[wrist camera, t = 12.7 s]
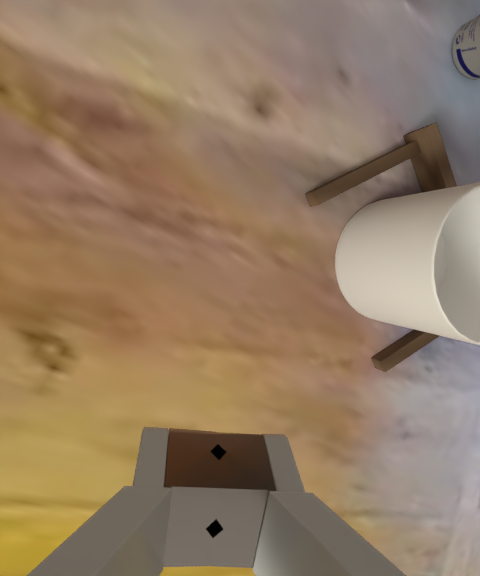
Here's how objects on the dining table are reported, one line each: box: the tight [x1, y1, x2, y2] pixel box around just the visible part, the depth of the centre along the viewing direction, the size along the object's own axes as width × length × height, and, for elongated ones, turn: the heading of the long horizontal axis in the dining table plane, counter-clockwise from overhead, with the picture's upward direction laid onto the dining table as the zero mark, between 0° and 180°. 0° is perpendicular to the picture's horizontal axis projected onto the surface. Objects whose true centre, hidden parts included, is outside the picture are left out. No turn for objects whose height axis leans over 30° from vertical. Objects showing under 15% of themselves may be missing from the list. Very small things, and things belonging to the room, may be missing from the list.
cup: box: [335, 182, 480, 345], centre depth 35 cm, size 12×12×12 cm
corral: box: [305, 123, 456, 372], centre depth 40 cm, size 20×13×3 cm, turn 26°
